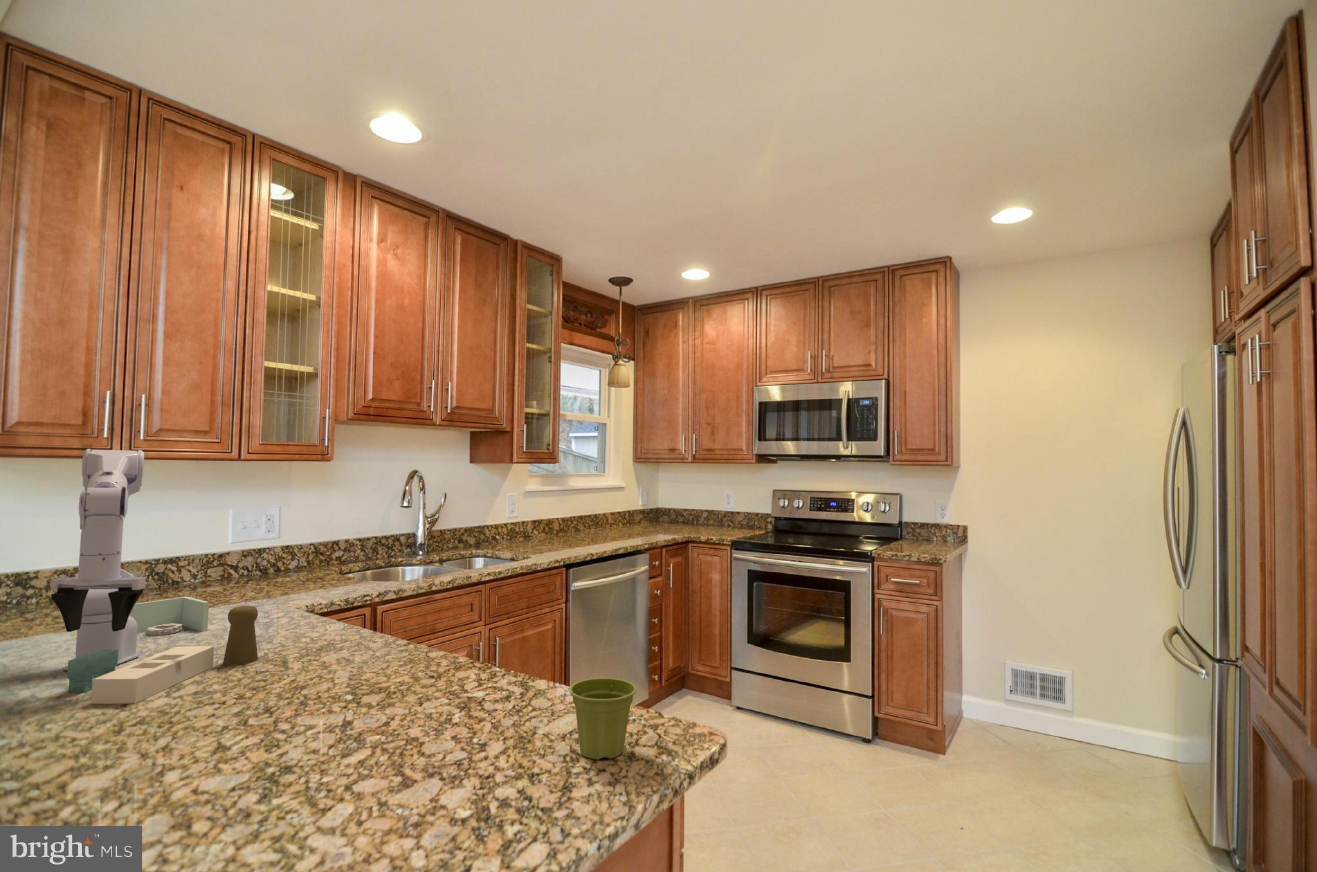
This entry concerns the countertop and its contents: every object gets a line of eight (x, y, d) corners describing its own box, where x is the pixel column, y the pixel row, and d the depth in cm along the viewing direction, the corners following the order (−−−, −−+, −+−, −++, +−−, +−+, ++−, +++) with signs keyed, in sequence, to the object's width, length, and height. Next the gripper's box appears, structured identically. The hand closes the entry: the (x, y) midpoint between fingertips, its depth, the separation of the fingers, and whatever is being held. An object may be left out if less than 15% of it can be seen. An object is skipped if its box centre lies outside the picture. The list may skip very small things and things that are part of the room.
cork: (240, 666, 125) (243, 610, 126) (215, 664, 126) (218, 608, 127) (265, 657, 131) (267, 604, 132) (240, 655, 132) (243, 602, 133)
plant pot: (594, 732, 95) (595, 673, 95) (648, 746, 90) (648, 684, 91) (554, 755, 87) (555, 691, 87) (610, 772, 82) (611, 704, 83)
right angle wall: (125, 636, 149) (127, 604, 150) (184, 626, 159) (186, 596, 160) (147, 644, 143) (149, 610, 143) (207, 633, 153) (208, 601, 153)
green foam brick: (99, 680, 116) (101, 649, 117) (116, 679, 116) (118, 649, 117) (66, 693, 109) (68, 660, 110) (84, 692, 110) (86, 660, 110)
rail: (176, 667, 124) (177, 646, 125) (212, 666, 125) (213, 646, 125) (91, 703, 104) (92, 679, 105) (135, 703, 105) (136, 678, 105)
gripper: (37, 556, 109) (32, 636, 109) (126, 556, 111) (122, 635, 110) (71, 551, 116) (66, 626, 116) (155, 551, 118) (151, 625, 117)
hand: (95, 630), depth 113 cm, fingers open, 7 cm apart
